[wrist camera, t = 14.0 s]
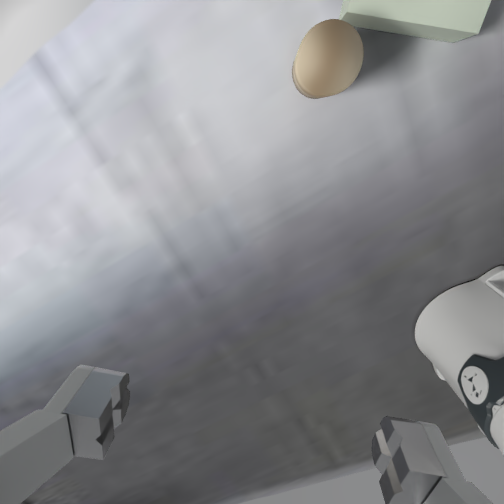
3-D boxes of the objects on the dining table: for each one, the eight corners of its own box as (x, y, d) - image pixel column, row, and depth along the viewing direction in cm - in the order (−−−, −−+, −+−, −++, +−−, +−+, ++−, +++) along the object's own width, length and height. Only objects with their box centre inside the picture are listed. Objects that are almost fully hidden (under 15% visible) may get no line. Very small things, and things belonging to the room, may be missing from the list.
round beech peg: (349, 45, 30) (372, 25, 22) (335, 102, 32) (352, 100, 25) (297, 36, 30) (304, 13, 22) (287, 94, 32) (290, 90, 25)
